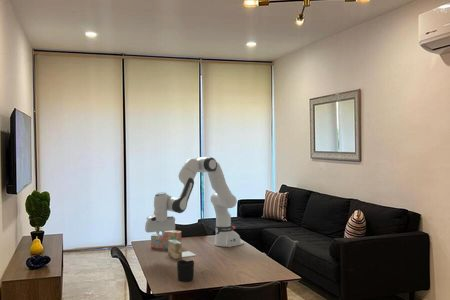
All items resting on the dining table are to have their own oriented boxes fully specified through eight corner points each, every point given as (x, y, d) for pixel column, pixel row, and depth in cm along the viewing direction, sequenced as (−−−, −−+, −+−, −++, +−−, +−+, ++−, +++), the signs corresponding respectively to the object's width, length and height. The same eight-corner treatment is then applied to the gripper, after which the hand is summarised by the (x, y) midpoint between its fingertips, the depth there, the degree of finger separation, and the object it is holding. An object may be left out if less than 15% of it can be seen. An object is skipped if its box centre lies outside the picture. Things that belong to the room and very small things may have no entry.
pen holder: (187, 276, 248) (187, 258, 248) (197, 279, 241) (197, 262, 241) (173, 279, 242) (173, 261, 242) (183, 283, 235) (183, 265, 235)
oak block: (175, 254, 299) (174, 239, 298) (181, 257, 288) (181, 242, 288) (168, 254, 296) (168, 240, 296) (174, 258, 286) (174, 243, 285)
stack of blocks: (150, 248, 315) (150, 231, 315) (153, 246, 321) (153, 229, 321) (179, 249, 312) (179, 232, 312) (181, 247, 318) (181, 230, 318)
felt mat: (188, 251, 304) (188, 251, 304) (196, 255, 293) (196, 254, 293) (175, 253, 299) (175, 252, 299) (182, 257, 288) (182, 256, 288)
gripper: (173, 215, 295) (173, 235, 295) (144, 217, 285) (144, 238, 285) (176, 216, 289) (176, 237, 289) (147, 218, 279) (147, 240, 279)
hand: (160, 238), depth 287 cm, fingers closed
